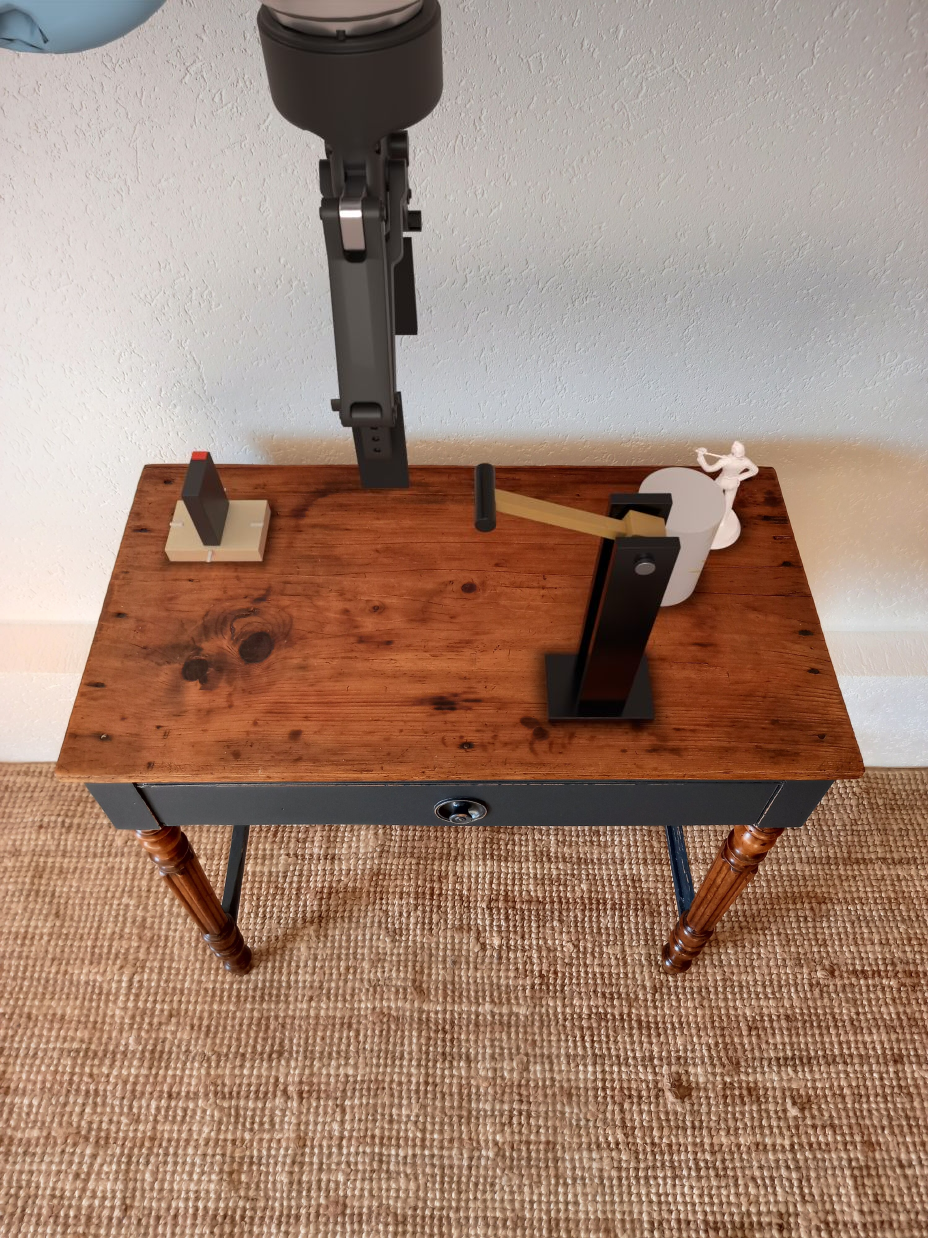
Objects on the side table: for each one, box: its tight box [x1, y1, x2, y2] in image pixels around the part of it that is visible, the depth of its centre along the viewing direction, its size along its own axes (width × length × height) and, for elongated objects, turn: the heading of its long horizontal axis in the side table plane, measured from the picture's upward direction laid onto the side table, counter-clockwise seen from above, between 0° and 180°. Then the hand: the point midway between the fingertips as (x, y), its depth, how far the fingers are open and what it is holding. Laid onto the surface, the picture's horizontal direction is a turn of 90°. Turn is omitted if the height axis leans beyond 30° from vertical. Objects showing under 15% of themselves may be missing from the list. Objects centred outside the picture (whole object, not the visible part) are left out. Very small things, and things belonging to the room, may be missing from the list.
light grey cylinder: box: [638, 466, 726, 607], centre depth 80 cm, size 8×8×12 cm
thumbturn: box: [180, 450, 229, 546], centre depth 84 cm, size 6×2×8 cm, turn 179°
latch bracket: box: [543, 492, 681, 724], centre depth 67 cm, size 10×7×26 cm
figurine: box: [694, 440, 759, 550], centre depth 84 cm, size 7×7×12 cm
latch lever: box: [473, 462, 667, 540], centre depth 56 cm, size 14×5×2 cm, turn 90°
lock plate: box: [164, 487, 272, 563], centre depth 88 cm, size 10×10×2 cm
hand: (392, 402), depth 50 cm, fingers open, 13 cm apart
